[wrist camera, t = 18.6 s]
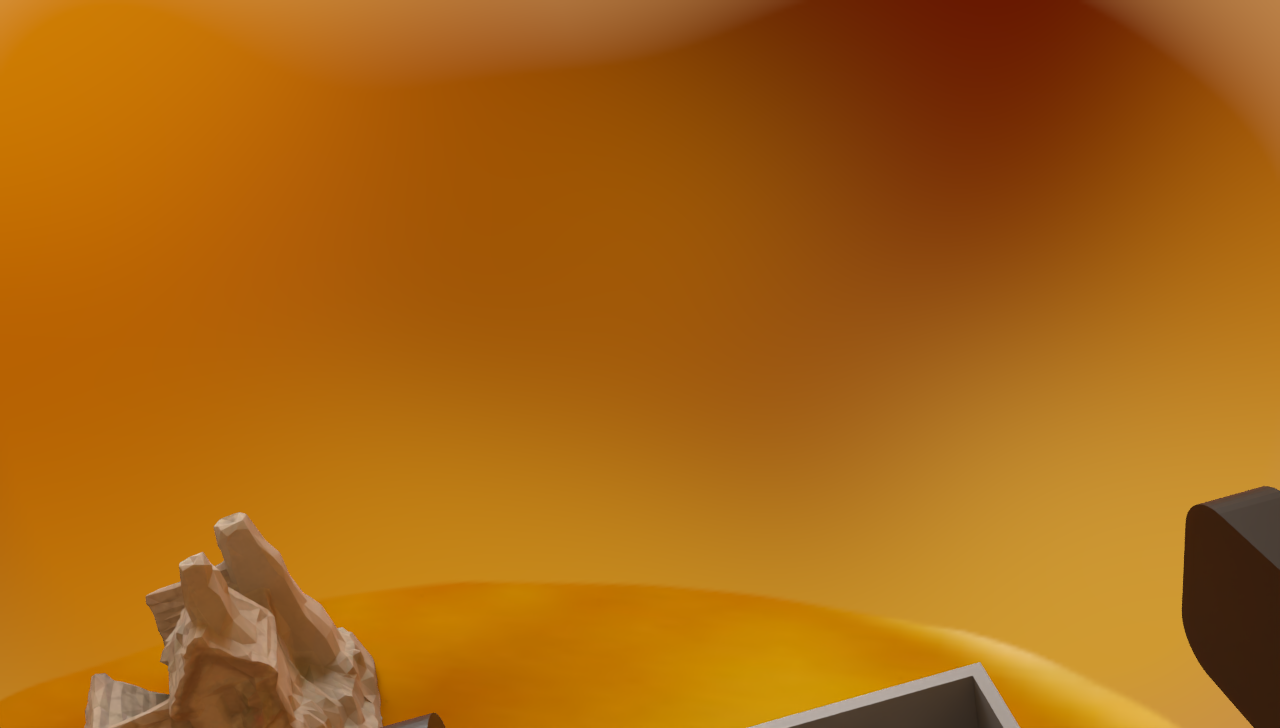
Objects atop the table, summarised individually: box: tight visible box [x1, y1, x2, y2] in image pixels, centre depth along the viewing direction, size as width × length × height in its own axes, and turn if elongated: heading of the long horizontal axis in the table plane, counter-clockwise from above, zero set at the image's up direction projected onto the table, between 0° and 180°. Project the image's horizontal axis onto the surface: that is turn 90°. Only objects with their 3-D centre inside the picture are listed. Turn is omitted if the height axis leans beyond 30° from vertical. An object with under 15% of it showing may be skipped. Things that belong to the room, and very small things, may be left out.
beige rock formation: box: [84, 512, 383, 728], centre depth 48 cm, size 16×16×15 cm
